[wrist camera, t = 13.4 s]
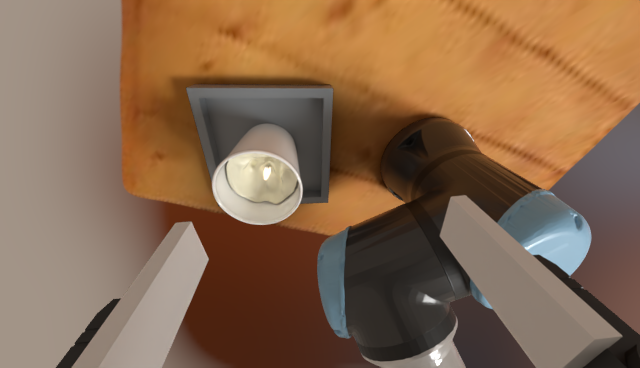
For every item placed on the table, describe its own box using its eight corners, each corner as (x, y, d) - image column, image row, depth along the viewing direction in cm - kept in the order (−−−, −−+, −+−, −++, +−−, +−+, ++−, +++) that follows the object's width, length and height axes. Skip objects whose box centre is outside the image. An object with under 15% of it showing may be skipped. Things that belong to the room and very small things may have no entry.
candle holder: (301, 176, 38) (302, 224, 28) (241, 176, 37) (220, 226, 27) (301, 118, 33) (302, 151, 23) (232, 116, 32) (201, 150, 22)
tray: (330, 84, 32) (333, 88, 30) (326, 192, 42) (328, 202, 39) (195, 84, 31) (185, 87, 28) (223, 196, 40) (218, 206, 38)
